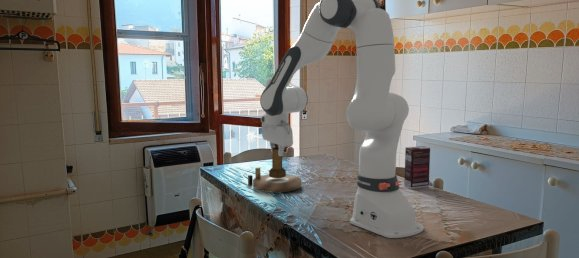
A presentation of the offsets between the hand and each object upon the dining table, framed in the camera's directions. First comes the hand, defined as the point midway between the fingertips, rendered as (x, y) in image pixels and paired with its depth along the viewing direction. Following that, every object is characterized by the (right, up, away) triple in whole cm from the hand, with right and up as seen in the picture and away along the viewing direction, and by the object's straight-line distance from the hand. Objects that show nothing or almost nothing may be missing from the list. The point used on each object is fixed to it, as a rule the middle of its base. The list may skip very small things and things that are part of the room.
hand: (277, 154), depth 161 cm
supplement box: (+55, -13, +3) cm, 57 cm away
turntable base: (-2, -13, +3) cm, 13 cm away
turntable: (0, -13, +2) cm, 13 cm away
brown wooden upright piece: (0, -9, +1) cm, 9 cm away
